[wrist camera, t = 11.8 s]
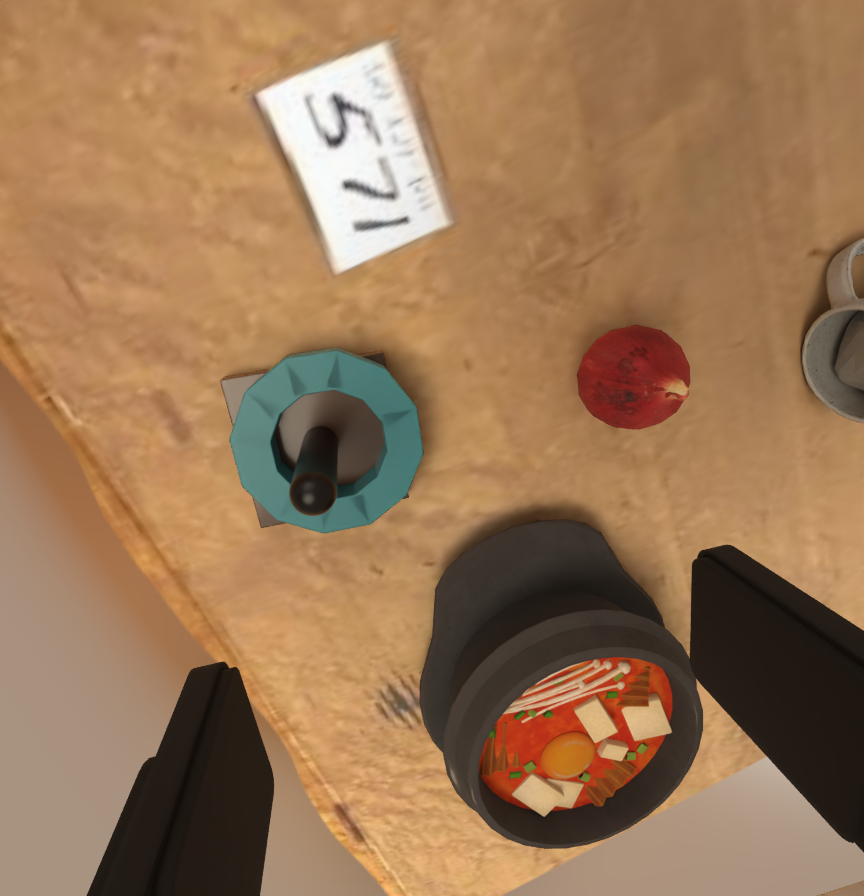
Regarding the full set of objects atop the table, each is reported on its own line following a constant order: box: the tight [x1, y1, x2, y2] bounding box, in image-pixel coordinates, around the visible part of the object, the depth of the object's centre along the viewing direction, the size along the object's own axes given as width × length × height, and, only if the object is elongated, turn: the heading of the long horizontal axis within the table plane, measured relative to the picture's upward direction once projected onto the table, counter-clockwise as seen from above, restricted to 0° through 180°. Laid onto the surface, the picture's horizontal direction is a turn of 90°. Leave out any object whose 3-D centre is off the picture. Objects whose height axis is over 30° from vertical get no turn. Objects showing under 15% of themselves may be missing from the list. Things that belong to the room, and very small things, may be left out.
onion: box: [577, 325, 690, 429], centre depth 28 cm, size 6×6×8 cm
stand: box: [220, 351, 409, 528], centre depth 26 cm, size 9×9×10 cm
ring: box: [230, 347, 423, 533], centre depth 28 cm, size 10×10×2 cm
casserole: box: [420, 520, 703, 849], centre depth 34 cm, size 25×19×8 cm
